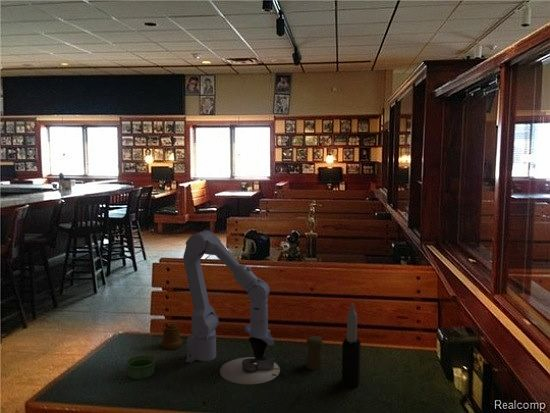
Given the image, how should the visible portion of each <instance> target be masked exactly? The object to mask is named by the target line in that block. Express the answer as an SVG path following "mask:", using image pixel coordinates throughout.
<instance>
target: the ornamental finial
mask: <svg viewBox="0 0 550 413" xmlns="http://www.w3.org/2000/svg"><path fill="white" fill-rule="evenodd" d="M160 343H161V344H160V345H161V348H162V349H164V350H166V351H167V350H169V351H173V350H177V349H180V348H181V347H182V346H183V340H182V338H181V334H180V327H178V326H177V325H176V324H173V323H169V324H168V325H167V326H165V327H164V329H163V339H162V341H161V342H160Z"/></svg>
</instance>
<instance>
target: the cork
mask: <svg viewBox="0 0 550 413" xmlns="http://www.w3.org/2000/svg"><path fill="white" fill-rule="evenodd" d="M323 344H324V343H323V339H322V338H321V337H320V336H316V335H312V336H309V337H308V338H307V339H306V346H307V354H306V362H305V368H307V369H309V370H313V371H317V370H318V371H317V372H316V374H315V375H316V376H317V375H321V374H323V373H324V364H323V355H322V347H323Z"/></svg>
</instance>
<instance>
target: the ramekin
mask: <svg viewBox="0 0 550 413" xmlns="http://www.w3.org/2000/svg"><path fill="white" fill-rule="evenodd" d="M155 364H156V357H154V356H153V355H148V354H141V355H140V354H139V355H136V356H132V357H130V358H128V360H126V364H125V365H126V368H127V376H128V377H129V378H130V379H133V380H145V379H147V378H151V377H152V376H153V375H154V374H155Z"/></svg>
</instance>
